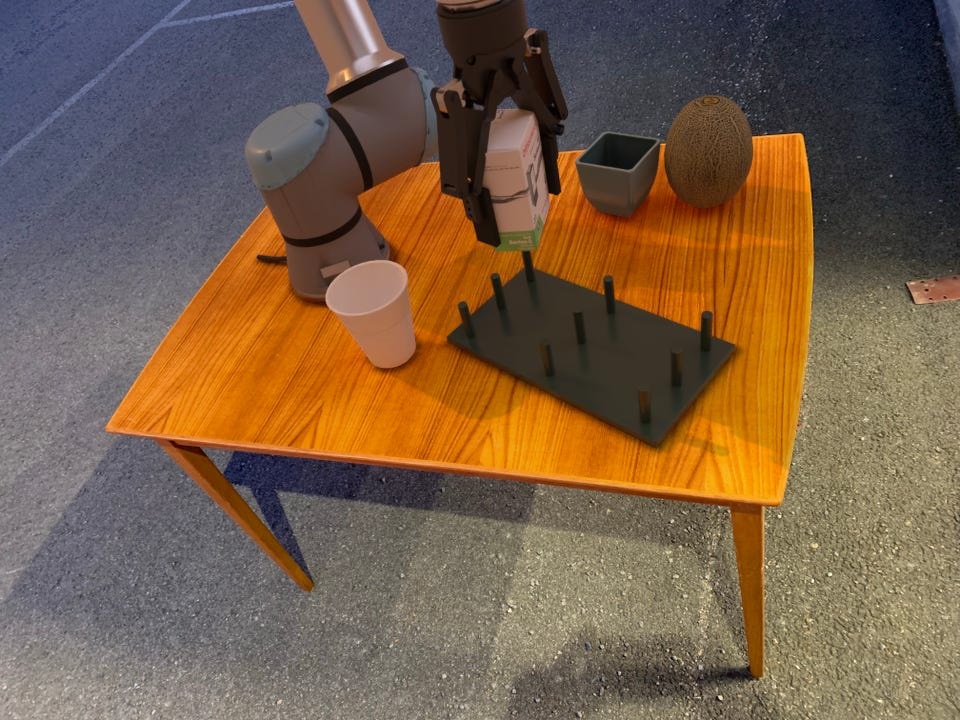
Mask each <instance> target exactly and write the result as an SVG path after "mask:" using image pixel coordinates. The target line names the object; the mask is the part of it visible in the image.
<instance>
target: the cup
mask: <svg viewBox="0 0 960 720" xmlns="http://www.w3.org/2000/svg"><path fill="white" fill-rule="evenodd" d="M408 282H409V274H408V272H407V270H406V269H405V267H404V266H403V265H401V264H400V263H397V262H396V261H393V260H392V261H387V260H375V261H368V262H364V263H361V264H358V265H355V266H353V267H351V268H349V269H347V270H346V271H344V272H343V273H341V274H340V275H339V276H338V277H336V278H335V279H334V280H333V282H332V283H331V284H330V286H329V287H328V289H327V292H326V303H325V304H326V306H327V307H328V309H329V310H330V311H332V312H333V314H335V315H336V317H337V318H338V319H339V321H340V322H341V324H343V326H344V327H345V329H346V330H347V331H348V333H349V334H350V336H351V337H352V338H353V340H354V341H355V343H356V344H357V345H358V347H359V348H360V349H361V351H362V352H363V353H364V355H365V356H366V357H367V359H368V360H369V361H370V364H372V365H373V366H375V367H377V368H380V369H393V368H397V367H399V366H402V365H404V364H405V363H406V362H408V361H410V359H411V358H412V357H413V355H414V354H415V352H416V348H417V342H416V336H415V331H414V330H415V329H414V322H413V315H412V308H411V302H410V300H411V299H410V295H409V288H408Z"/></svg>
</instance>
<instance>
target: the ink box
mask: <svg viewBox="0 0 960 720" xmlns="http://www.w3.org/2000/svg"><path fill="white" fill-rule="evenodd" d="M485 156H486V162H485V170H484V177H483V184H482V187H485V188H488V189H489V191H490V195H491V200H492V204H493V209H494V213H495V218H496V222H497V227H498V231H499V236H500V240H501V244H500V245H499V246H498V247H497V248H496V247H493V250H494V252H495V253H503V252H505V253H507V252H521V251H530V250H531V251H537V250H538V249H539V245H540V241H541V238H542V236H543V231H544V227H545V224H546V220H547V217H548V214H549V209H550V206H551V201H550V193H548V186H547V179H546V173H545V166H544V159H543V153H542V146H541V140H540V133H539V127H538V121H537V119H536V117H535V114H534V112H532V111H527V110H523V109H519V108H518V107H517V108H497V112H496V118H495V119H494V120H493V121H492V122H491V125H490V133H489V140H488V147H487V153H485Z"/></svg>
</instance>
